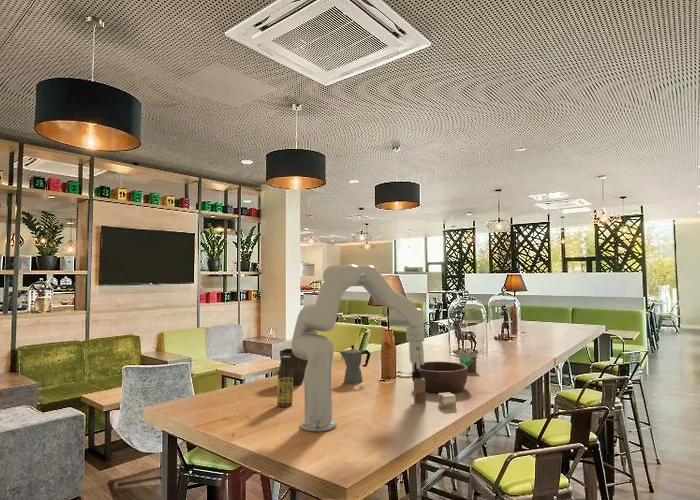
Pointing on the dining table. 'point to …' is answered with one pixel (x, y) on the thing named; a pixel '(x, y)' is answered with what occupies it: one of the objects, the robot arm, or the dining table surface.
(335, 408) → the dining table surface
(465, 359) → the food container
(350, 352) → the coffeepot
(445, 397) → the maple cube
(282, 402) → the sauce bottle
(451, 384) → the wooden bowl
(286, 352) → the brown wooden cup
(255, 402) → the dining table surface
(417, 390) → the walnut block
